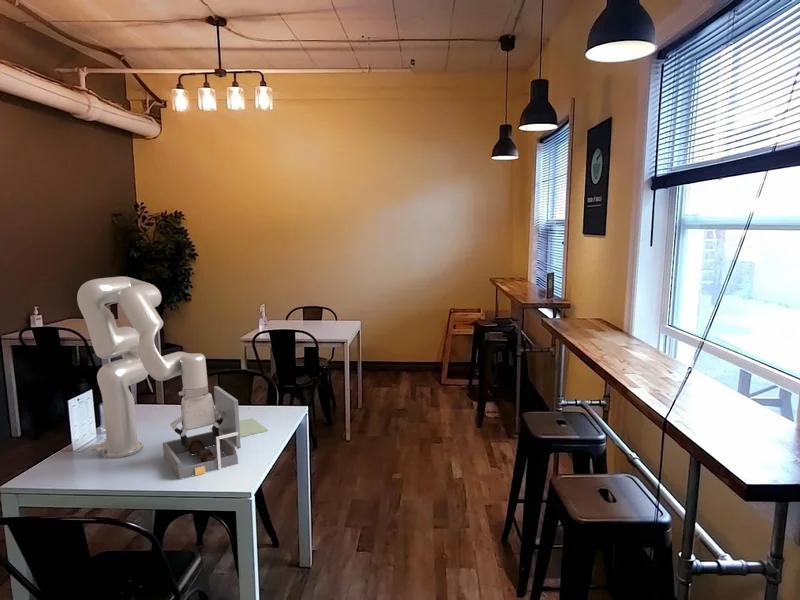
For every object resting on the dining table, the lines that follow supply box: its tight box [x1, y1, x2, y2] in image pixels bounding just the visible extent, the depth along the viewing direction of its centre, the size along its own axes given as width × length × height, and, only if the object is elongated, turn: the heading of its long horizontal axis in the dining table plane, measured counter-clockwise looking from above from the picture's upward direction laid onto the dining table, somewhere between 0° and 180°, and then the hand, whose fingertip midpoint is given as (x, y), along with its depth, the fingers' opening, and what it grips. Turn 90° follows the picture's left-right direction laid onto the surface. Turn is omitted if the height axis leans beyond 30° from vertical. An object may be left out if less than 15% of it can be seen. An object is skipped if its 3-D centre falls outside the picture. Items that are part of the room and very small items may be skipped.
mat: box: [239, 417, 269, 438], centre depth 203 cm, size 16×16×1 cm
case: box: [162, 385, 242, 480], centre depth 175 cm, size 19×22×21 cm
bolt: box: [186, 438, 217, 463], centre depth 176 cm, size 6×5×15 cm
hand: (200, 442), depth 175 cm, fingers open, 9 cm apart
